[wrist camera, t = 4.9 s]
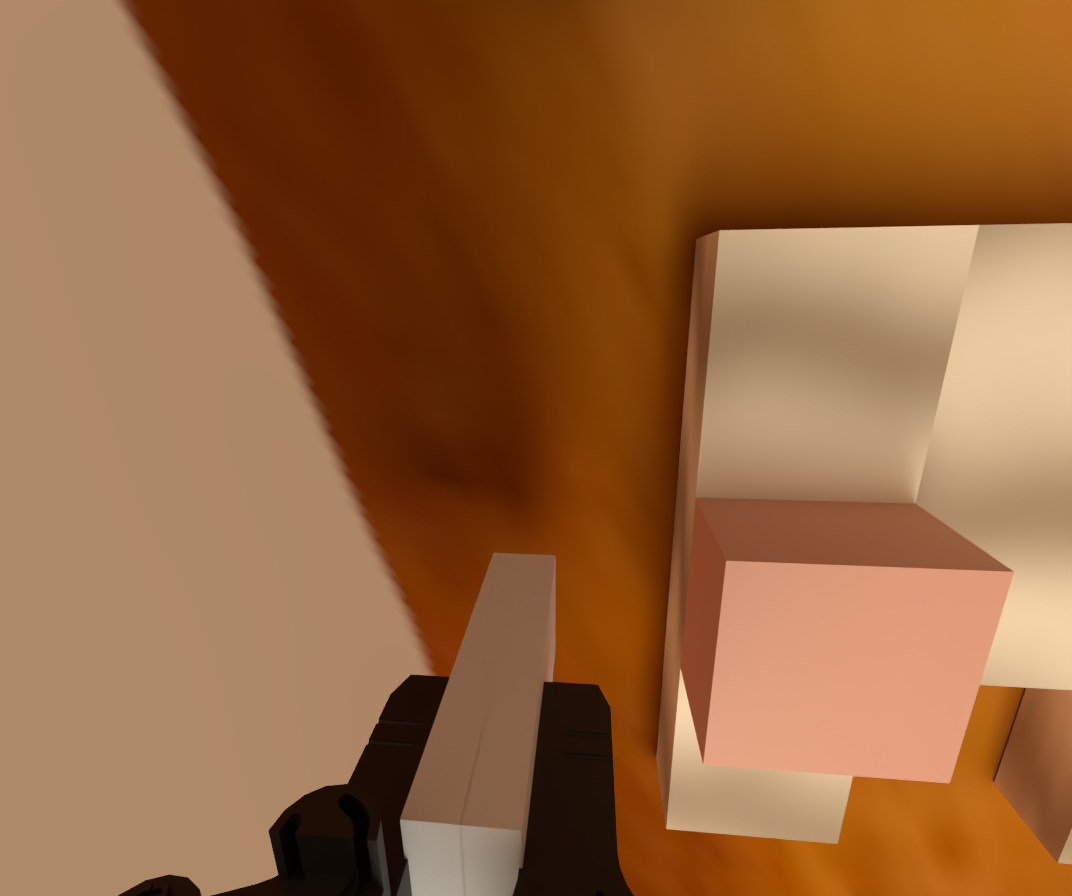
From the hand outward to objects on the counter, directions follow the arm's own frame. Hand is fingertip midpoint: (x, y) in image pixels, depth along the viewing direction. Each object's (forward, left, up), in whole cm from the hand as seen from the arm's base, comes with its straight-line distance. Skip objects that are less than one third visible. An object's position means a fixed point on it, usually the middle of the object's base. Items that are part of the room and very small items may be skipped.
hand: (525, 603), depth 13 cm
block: (0, +7, -1) cm, 7 cm away
